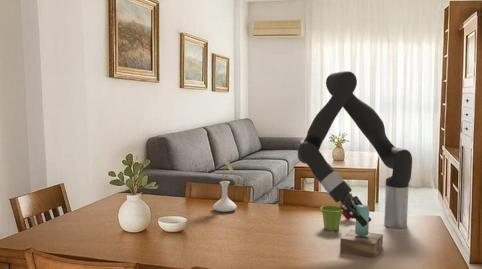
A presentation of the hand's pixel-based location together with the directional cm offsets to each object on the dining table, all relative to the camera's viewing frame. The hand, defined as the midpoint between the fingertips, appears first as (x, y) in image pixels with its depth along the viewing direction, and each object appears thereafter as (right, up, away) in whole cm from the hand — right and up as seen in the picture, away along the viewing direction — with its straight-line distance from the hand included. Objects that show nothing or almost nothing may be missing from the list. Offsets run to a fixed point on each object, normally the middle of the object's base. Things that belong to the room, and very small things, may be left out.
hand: (367, 223), depth 166 cm
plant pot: (-7, -8, +27) cm, 29 cm away
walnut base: (-2, -10, +2) cm, 10 cm away
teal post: (-2, -4, +1) cm, 5 cm away
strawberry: (+2, -6, +40) cm, 41 cm away
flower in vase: (-53, -5, +56) cm, 77 cm away
